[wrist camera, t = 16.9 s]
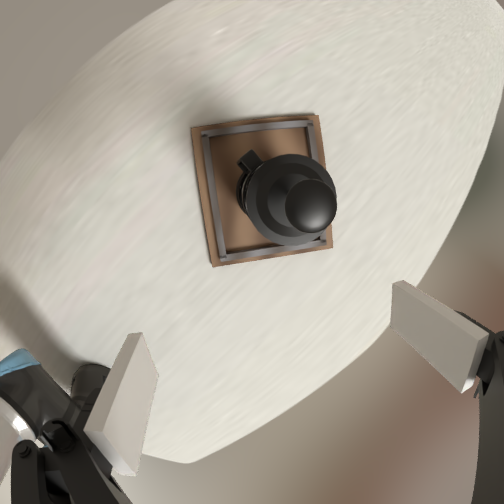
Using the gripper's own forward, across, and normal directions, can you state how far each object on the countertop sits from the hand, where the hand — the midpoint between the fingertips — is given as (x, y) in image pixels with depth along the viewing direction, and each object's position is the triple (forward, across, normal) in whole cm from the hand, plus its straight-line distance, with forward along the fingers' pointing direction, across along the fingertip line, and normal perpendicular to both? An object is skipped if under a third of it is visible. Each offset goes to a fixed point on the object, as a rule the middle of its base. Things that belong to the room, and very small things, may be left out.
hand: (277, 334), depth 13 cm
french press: (+31, +5, +6) cm, 32 cm away
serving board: (+32, +6, +6) cm, 33 cm away
